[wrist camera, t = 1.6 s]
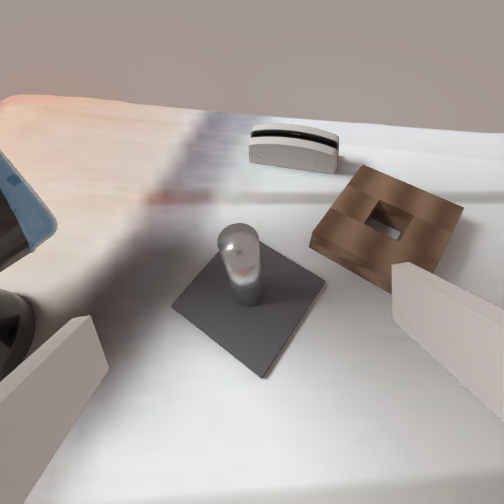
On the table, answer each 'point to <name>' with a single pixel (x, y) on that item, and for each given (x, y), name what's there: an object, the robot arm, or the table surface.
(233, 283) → the pin
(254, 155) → the napkin holder
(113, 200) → the table surface
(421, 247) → the socket block
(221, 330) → the mat
